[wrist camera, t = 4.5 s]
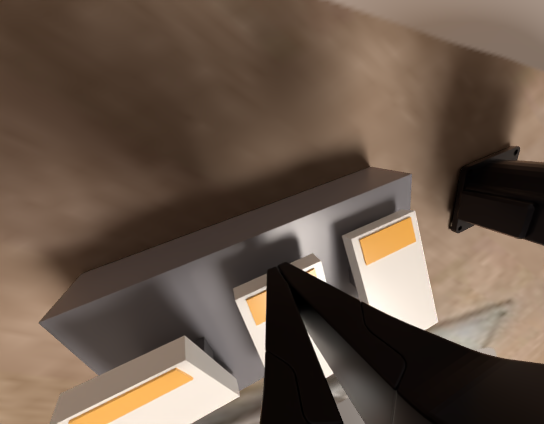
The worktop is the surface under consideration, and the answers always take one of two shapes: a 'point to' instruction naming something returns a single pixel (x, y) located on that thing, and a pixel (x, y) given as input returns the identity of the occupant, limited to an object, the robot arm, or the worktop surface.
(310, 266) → the rocker middle
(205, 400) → the plate
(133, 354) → the switch panel
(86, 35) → the worktop surface
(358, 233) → the rocker
